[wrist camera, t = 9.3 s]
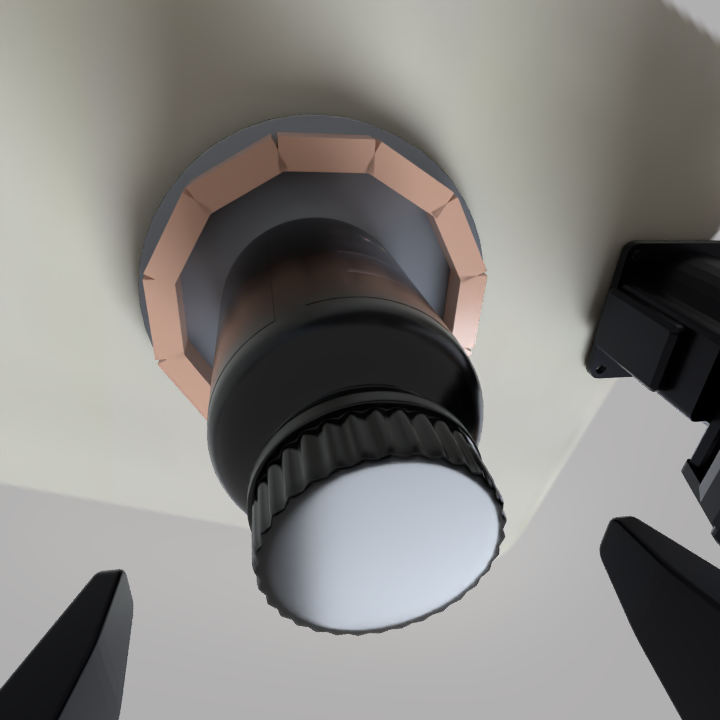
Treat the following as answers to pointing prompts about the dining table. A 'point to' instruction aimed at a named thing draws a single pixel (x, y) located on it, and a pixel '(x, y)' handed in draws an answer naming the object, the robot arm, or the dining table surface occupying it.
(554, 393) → the dining table surface
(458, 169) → the dining table surface
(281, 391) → the supplement bottle
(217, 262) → the bottle holder
